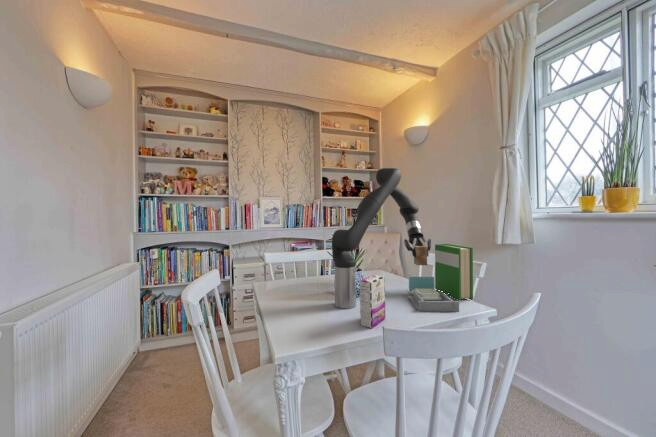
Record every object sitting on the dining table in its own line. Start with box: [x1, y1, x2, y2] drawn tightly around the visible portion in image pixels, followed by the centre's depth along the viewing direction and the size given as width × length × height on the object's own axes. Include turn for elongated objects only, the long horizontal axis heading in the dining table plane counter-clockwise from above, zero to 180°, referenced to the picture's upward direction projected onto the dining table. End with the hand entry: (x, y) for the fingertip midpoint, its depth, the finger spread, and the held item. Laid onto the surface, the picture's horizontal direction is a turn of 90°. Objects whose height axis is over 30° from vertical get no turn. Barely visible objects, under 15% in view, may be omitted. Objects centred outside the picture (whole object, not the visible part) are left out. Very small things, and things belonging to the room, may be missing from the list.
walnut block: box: [413, 245, 428, 266], centre depth 132 cm, size 5×5×9 cm
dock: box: [408, 291, 460, 312], centre depth 115 cm, size 16×17×4 cm
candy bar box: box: [359, 274, 386, 329], centre depth 97 cm, size 11×5×16 cm, turn 143°
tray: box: [408, 276, 442, 300], centre depth 124 cm, size 12×15×7 cm
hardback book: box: [434, 243, 474, 301], centre depth 129 cm, size 18×7×24 cm, turn 12°
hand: (421, 256), depth 131 cm, fingers closed on walnut block, 5 cm apart
